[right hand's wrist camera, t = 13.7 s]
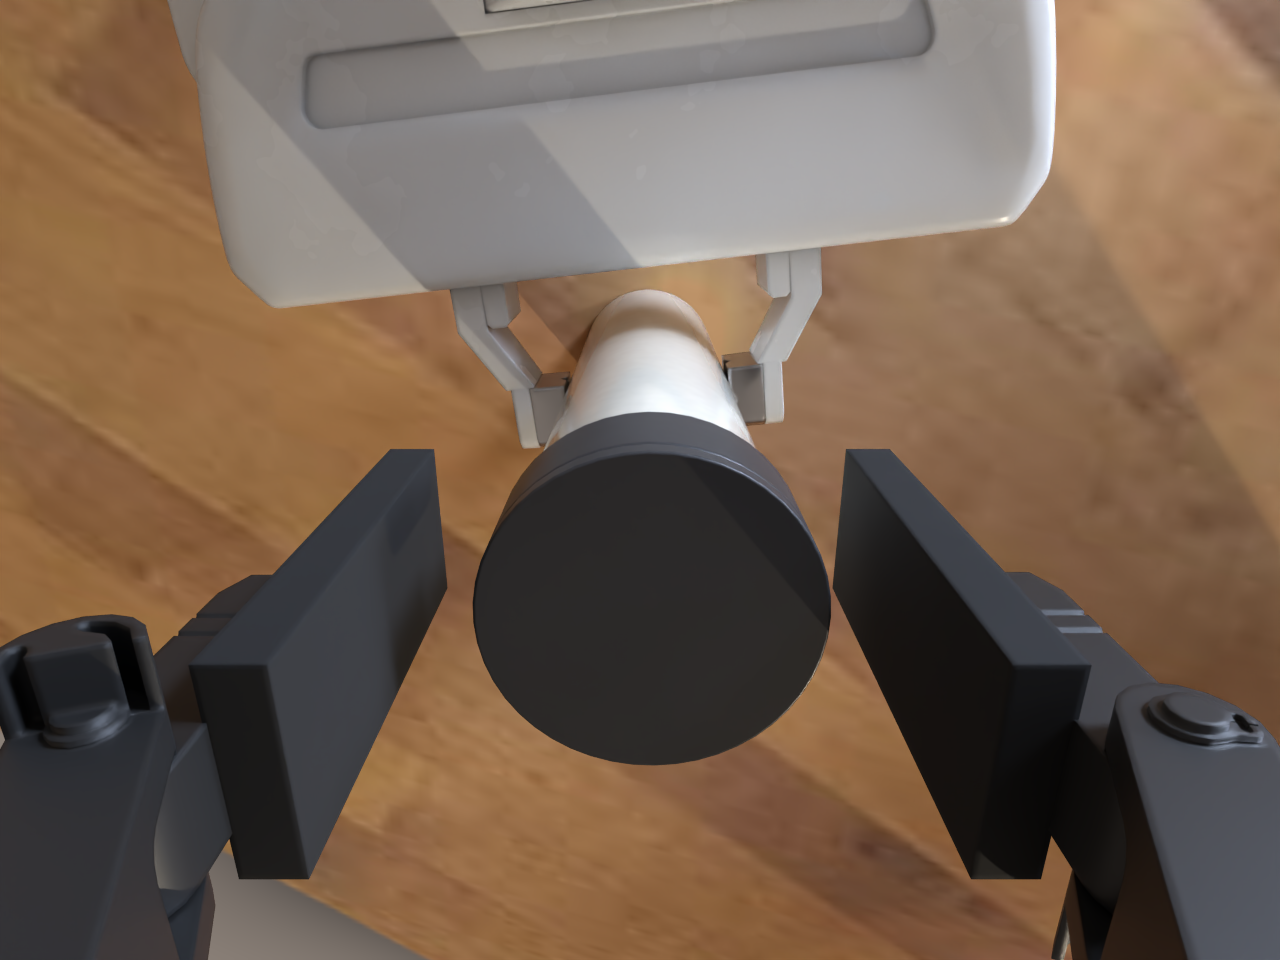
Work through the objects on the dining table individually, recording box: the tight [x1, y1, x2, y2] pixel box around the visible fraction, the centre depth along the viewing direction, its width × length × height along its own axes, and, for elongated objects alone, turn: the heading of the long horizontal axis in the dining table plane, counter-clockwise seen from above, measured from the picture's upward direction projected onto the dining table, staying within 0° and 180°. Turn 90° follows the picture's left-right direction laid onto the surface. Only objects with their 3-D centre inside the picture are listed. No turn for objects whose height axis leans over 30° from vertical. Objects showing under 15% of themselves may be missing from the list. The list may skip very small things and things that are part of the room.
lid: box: [473, 412, 831, 765], centre depth 12 cm, size 5×5×2 cm
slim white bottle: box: [544, 290, 756, 451], centre depth 20 cm, size 4×4×18 cm
